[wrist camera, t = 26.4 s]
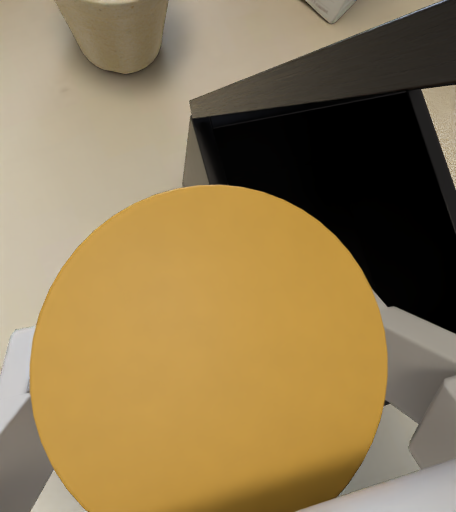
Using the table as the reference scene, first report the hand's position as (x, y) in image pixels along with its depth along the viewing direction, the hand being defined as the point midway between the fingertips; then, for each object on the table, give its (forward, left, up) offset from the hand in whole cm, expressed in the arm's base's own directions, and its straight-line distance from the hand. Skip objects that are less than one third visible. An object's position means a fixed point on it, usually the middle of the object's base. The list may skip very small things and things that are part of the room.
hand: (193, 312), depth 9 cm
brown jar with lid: (-1, 0, -4) cm, 4 cm away
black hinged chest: (+1, -9, -18) cm, 20 cm away
